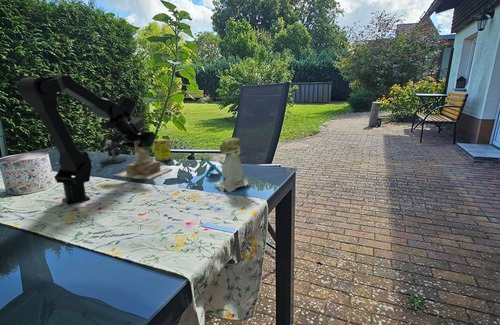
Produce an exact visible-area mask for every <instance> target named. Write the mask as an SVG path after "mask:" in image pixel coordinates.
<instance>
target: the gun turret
mask: <svg viewBox="0 0 500 325" xmlns="http://www.w3.org/2000/svg"><path fill="white" fill-rule="evenodd" d="M112 137H113V136H112ZM112 137H111V138H112ZM107 139H108V138H107V136H105V137H104V138H102V140H101V141H100V143H99V147H100V148H101V150H102V151H105V152H107V155H108V158H107V157H106V158H103V159H101V160H100V164H102V165H117V164H122V163H125V162H127V161H128V160H127V158H126V157H122V156H120V151H119V148H118V147H117V146H118V145H114V144H113V143H112V142H111V139H108V140H107Z"/></svg>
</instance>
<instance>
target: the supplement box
mask: <svg viewBox="0 0 500 325" xmlns="http://www.w3.org/2000/svg"><path fill="white" fill-rule="evenodd" d="M170 141H171V140H170V139H168V138H167V139H166V138H162V139H161V138H160V139H154V141H153V148H154V149H153V150H154V161H160V163H163V162H167V161H171V160H172V156H171V154H172V153H171V142H170Z"/></svg>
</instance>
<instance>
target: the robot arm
mask: <svg viewBox="0 0 500 325" xmlns="http://www.w3.org/2000/svg"><path fill="white" fill-rule="evenodd" d="M16 89H17V92H18V94H19V95H20V96H21V97H22V99H23V100H24V102H25V103H26V104H28V105H29V106H30V107H31V108H32V109H34V110H35V111H36V113H37V114H38V116H39V117H40V119H41V121H42V123H43V125H44V128H45V129H46V131H47V133H48V134H49V137H50V138H51V140H52V142H53V143H54V146H55V147H56V149H57V151H58V153H59V158H58V159H59V160H58V163H59V166H60V169H59V170H58V171H57V173H56V175H55V176H54V180H55V181H56V183H58V184H59V183H61V184H62V185H63V190H64V195H65V196H64V197H62V199H61V200H62V201H63V202H64V203H65V204H67V205H72V204H76V203H80V202H81V203H82V202H85V201H89V200H90V199H91V196H88V195H87V194H86V188H85V183H88V182H90V178H91V174H92V169H93V166H92V162H93V160H91V158H90V156H89V153H88V152H87V151H83V150H79V149H78V148H77V146H76V143H75V142H74V140H73V138H72V135H71V134H70V131H69V129H68V128H67V125H66V123H65V122H64V119H63V117H62V115H61V113H60V110H59V109H58V106H57V103H58V102H57V101H58V94H57V93H59V92H61V91H62V92H65V94H67V95H70V97H73V98H74V99H76V100H78V101H79V102H81V103H83V104H84V105H86V106H88V107H89V109H90V111H91V113H93V114H94V116H96V117H98V118H100V119H108V120H106V121H105V126H104V127H105V129H114V130H115V131H114V133H113V135H112V138H111V139H110V140H111V142H112V143H113V144H114V145H117V146H120V144H121V146H123V147H127V148H130V149H134V150H135V147H134V141H135V142H138V141H139V144H138V147H140V148H142V149H144V150H147V151H148V150H149V151H150V148H149V147H151V146H152V144H154V140H156V139H155V138H156V134H155V132H153V131H144V132H142V133H140V132H141V128H142V127H144V126H145V121H144V120H143V118H142V117H132V115H133V114H134V112H135V109H136V108H137V103H136V102H135V101H134V100H132V99H130V98H128V97H127V96H126V95H125V96H124V95H122V96H120V99H119V100H118V102H117V103H116V102H114V101H112V100H110V99H108V98H104V97H101V96H98V95H97V94H96V93H95V92H93V91H92V90H90V89H88V88H87V87H85V86H84V85H83V84H81V83H79V82H78V81H76V80H75V79H73V77H71V76H70V75H68V74H66V73H65V74H64V73H63V74H53V75H50V76H47V77H46V76H38V77H37V76H36V77H31V76H30V77H23V78H20V79H19V81H18V82H17V85H16Z"/></svg>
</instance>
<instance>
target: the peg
mask: <svg viewBox="0 0 500 325" xmlns="http://www.w3.org/2000/svg"><path fill="white" fill-rule="evenodd" d="M138 144H139V141H138V142H135V141H134V147H135V149H134V154H135V155H134V156H135V162H136V164H138V165H146V164H149V163H150V161H151V159H150V149H149V150H148V151H147V150H144V149H142V148H140V147H138Z"/></svg>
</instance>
